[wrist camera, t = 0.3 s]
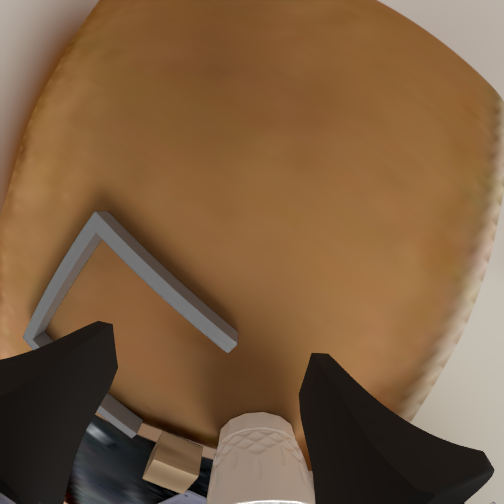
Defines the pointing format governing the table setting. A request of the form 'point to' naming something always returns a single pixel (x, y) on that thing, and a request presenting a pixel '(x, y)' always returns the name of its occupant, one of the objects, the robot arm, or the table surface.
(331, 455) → the robot arm
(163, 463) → the oak cube
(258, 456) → the white cup
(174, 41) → the table surface
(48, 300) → the grey u-shaped bracket
